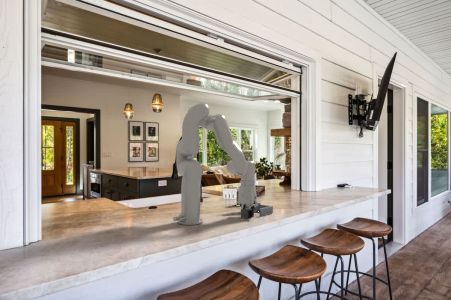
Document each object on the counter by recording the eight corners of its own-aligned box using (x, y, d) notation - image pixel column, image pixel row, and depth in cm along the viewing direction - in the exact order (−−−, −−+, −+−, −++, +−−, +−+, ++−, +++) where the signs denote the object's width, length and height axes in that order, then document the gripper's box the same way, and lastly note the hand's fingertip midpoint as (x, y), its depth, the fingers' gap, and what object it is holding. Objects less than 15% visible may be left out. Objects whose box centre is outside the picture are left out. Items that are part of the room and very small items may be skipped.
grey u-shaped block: (261, 216, 162) (261, 207, 162) (245, 213, 169) (245, 205, 169) (272, 213, 171) (273, 204, 171) (257, 210, 178) (257, 202, 178)
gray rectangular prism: (245, 219, 156) (245, 210, 156) (240, 218, 158) (240, 209, 158) (254, 216, 162) (254, 208, 163) (248, 215, 165) (249, 207, 165)
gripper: (231, 182, 163) (231, 215, 163) (256, 185, 152) (255, 220, 152) (240, 181, 169) (239, 213, 169) (264, 184, 158) (263, 218, 158)
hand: (247, 216), depth 160 cm, fingers closed on gray rectangular prism, 3 cm apart
